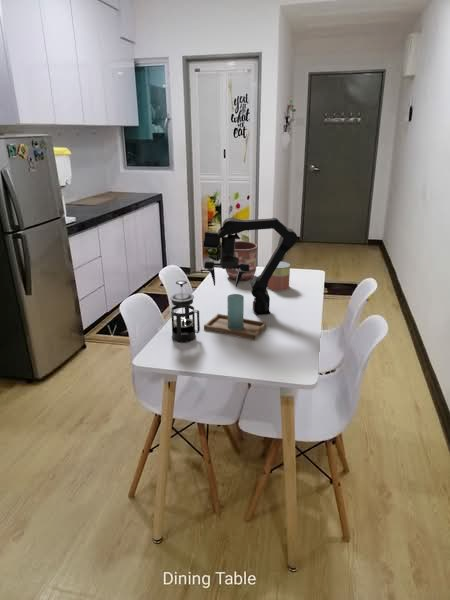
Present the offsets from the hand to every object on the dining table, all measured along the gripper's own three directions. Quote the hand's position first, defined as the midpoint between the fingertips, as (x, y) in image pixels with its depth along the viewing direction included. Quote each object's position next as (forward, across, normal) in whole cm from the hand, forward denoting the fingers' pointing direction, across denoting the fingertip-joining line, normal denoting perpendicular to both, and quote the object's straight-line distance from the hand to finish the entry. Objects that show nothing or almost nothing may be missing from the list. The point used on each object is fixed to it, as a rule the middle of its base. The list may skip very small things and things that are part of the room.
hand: (225, 286), depth 184 cm
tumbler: (+15, +5, -11) cm, 19 cm away
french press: (+18, -15, -18) cm, 30 cm away
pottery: (+4, +10, +52) cm, 54 cm away
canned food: (+5, +28, +37) cm, 47 cm away
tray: (+15, +5, -10) cm, 19 cm away
